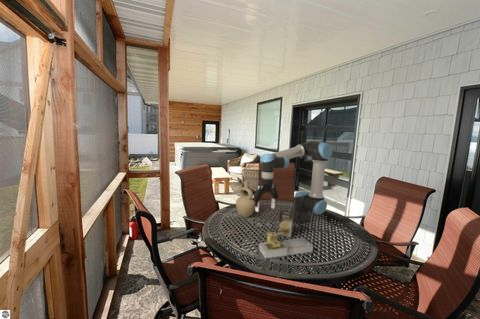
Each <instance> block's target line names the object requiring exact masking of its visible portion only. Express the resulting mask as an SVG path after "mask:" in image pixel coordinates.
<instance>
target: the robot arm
mask: <svg viewBox="0 0 480 319" xmlns="http://www.w3.org/2000/svg"><path fill="white" fill-rule="evenodd" d="M332 155H333V148H332V146H331V145H330V143H327V142H324V141H323V142H322V141H320V142H318V141H306V142H303V143H299V144H297V145H296V146H294V147H291V148H290V147H289V148H286V149H283V150H280V151H277V152H273V153H264V154H262V155H261V156H260V158H259V160H260V163H261V179H260V184H261V186H260V185H258V186H257V187H256V190H255V192H254V194H253V201H255V206H256V207H255V209H254V211H255V212H257V213H259V212H260V200H261V198H262V197H263V195H264V194H265V193H269V194H270V196H271V207H270V208H271V209H274V210H275V209H276V208H275V207H276V202H277V200H278V198H279V193H278V191H277V188H276V186H277V185H276V184H275V183H273V182H274V173H275V172H274V170H275V169H286V168H288V167H289V165H290V160H291V159H293V158H297V157H299V158H300V157H311V158H310V159H311V161H312V171H311V172H312V174H311V184H310V185H311V186H310V192H309V191H297V192H295V195H294V203H293V204H294V206H293V211H292V212H293V221H294V222H296V223H300V224H301V223H302V224H303V223H304V224H305V223H309V222H310V221H311V215H310V213H313V214H316V215H322V214H323V213H325V211H326V210H327V206H328V202H327V201H326V200H325V196H324V194H323V193H324V192H323V191H324V182H325V172H326V171H325V169H326V163H327V162H328V161H329V159H331V157H332Z"/></svg>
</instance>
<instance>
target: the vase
mask: <svg viewBox="0 0 480 319" xmlns="http://www.w3.org/2000/svg"><path fill="white" fill-rule="evenodd" d="M243 185H244V186H242V187H241V188H240V189H239V197H238V198H237V199H236V201H235V207H236V211H237V212H238V214H239V216H240V217H242V218H248V217H250V216H252V215H253V213H254V211H255V208H256V206H255V201H253V197H254V193H253V191H252V189H250V188H249V185H250V180H243ZM244 191H246V192H247V194H248V195H245V193H244Z"/></svg>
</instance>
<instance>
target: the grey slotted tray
mask: <svg viewBox="0 0 480 319" xmlns="http://www.w3.org/2000/svg"><path fill="white" fill-rule="evenodd" d="M278 242H279V243H280V244H281V248H277V249H269V242H267V241H266V242H259V243H258V250H259V251H260V253H261V254H262V256H263V258H264V259H270V258H277V257H285V256H292V255H299V254H307V252H308V253H313V250H314V245H313V244H312V243H311V242H309V241H308V240H307V239H306V238H305V237H301V238H292V239H284V240H278Z"/></svg>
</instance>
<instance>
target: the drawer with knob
mask: <svg viewBox="0 0 480 319" xmlns="http://www.w3.org/2000/svg"><path fill="white" fill-rule="evenodd" d="M278 241H279V240H278ZM278 241H277V240H275V241H269V249H277V248H281V244H280V243H279V242H278Z"/></svg>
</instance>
